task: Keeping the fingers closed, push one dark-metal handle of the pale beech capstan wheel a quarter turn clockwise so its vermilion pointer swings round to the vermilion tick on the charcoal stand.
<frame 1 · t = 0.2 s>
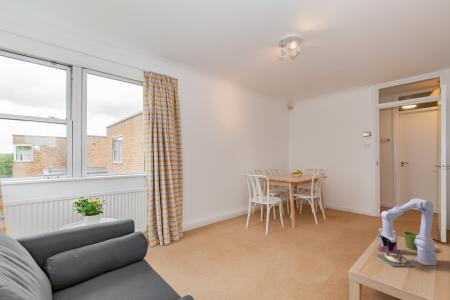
hand: (388, 248, 147), 10 cm above the table, fingers open, 7 cm apart
stand: (395, 261, 149), on the table
capstan wheel: (395, 255, 149), point 4 cm above the table, hinge at 0.0°
candy bar box: (387, 251, 163), on the table
plant pot: (412, 248, 168), on the table
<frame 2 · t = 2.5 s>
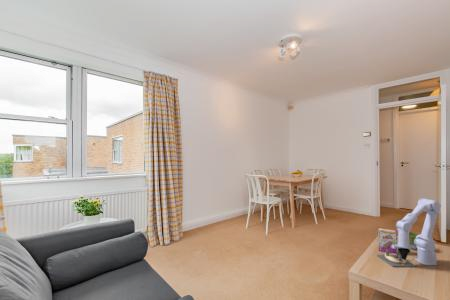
hand: (403, 258, 145), 4 cm above the table, fingers closed
capstan wheel: (395, 255, 149), point 4 cm above the table, hinge at 0.0°, touching gripper
everything else where it was.
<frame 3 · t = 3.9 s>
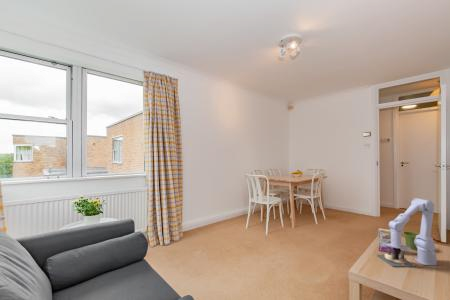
hand: (396, 258, 145), 4 cm above the table, fingers closed, pressing on capstan wheel
capstan wheel: (395, 255, 149), point 4 cm above the table, hinge at -47.1°, touching gripper
everything else where it was.
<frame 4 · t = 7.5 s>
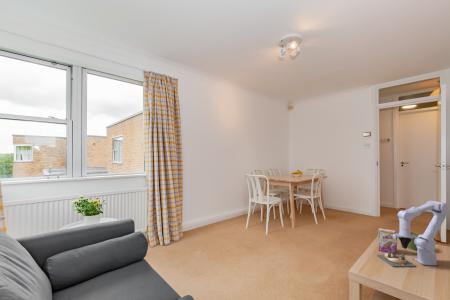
hand: (404, 248, 146), 10 cm above the table, fingers closed
capstan wheel: (395, 255, 149), point 4 cm above the table, hinge at -85.5°
everything else where it was.
at the end: capstan wheel at -86° (first picture: +0°) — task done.
